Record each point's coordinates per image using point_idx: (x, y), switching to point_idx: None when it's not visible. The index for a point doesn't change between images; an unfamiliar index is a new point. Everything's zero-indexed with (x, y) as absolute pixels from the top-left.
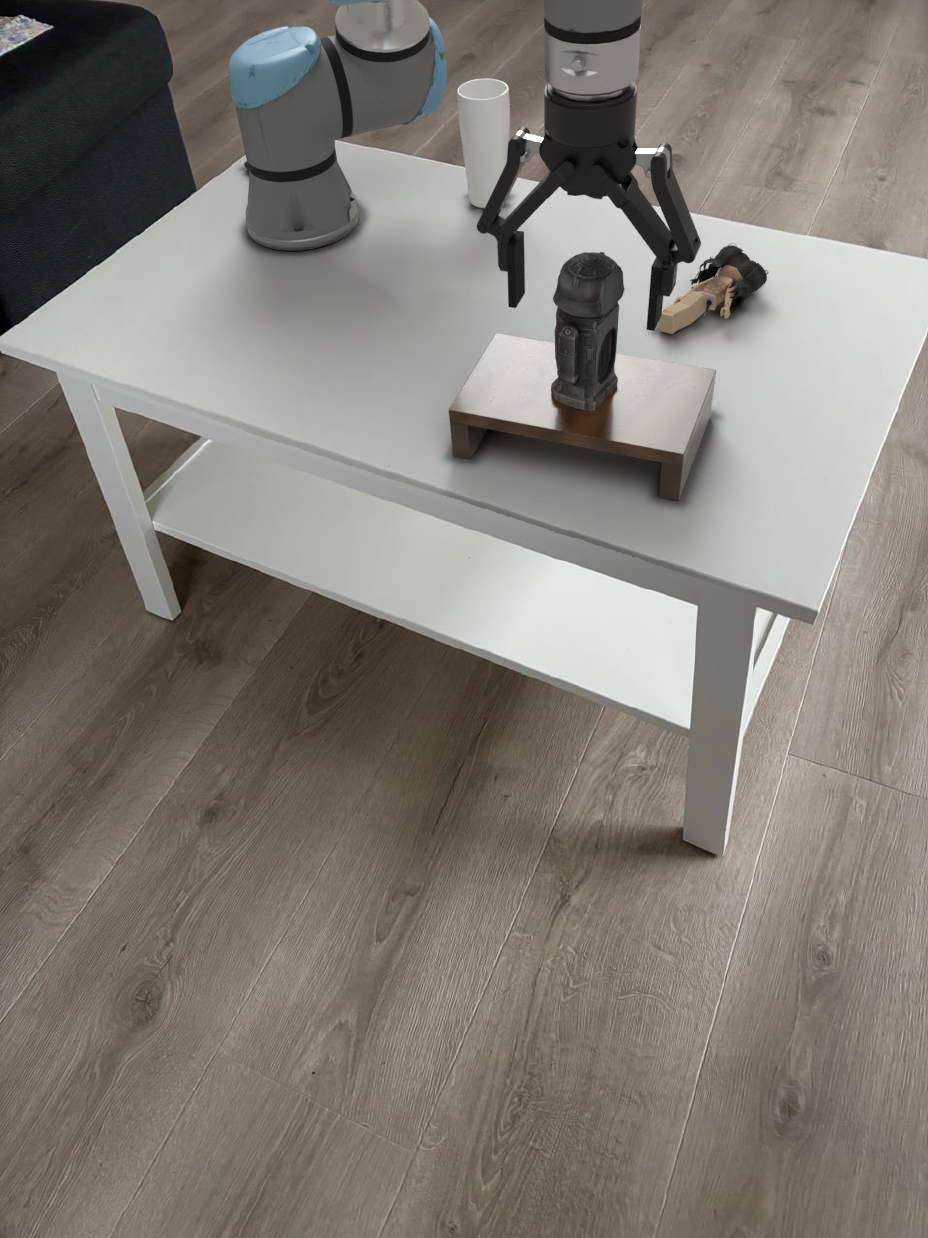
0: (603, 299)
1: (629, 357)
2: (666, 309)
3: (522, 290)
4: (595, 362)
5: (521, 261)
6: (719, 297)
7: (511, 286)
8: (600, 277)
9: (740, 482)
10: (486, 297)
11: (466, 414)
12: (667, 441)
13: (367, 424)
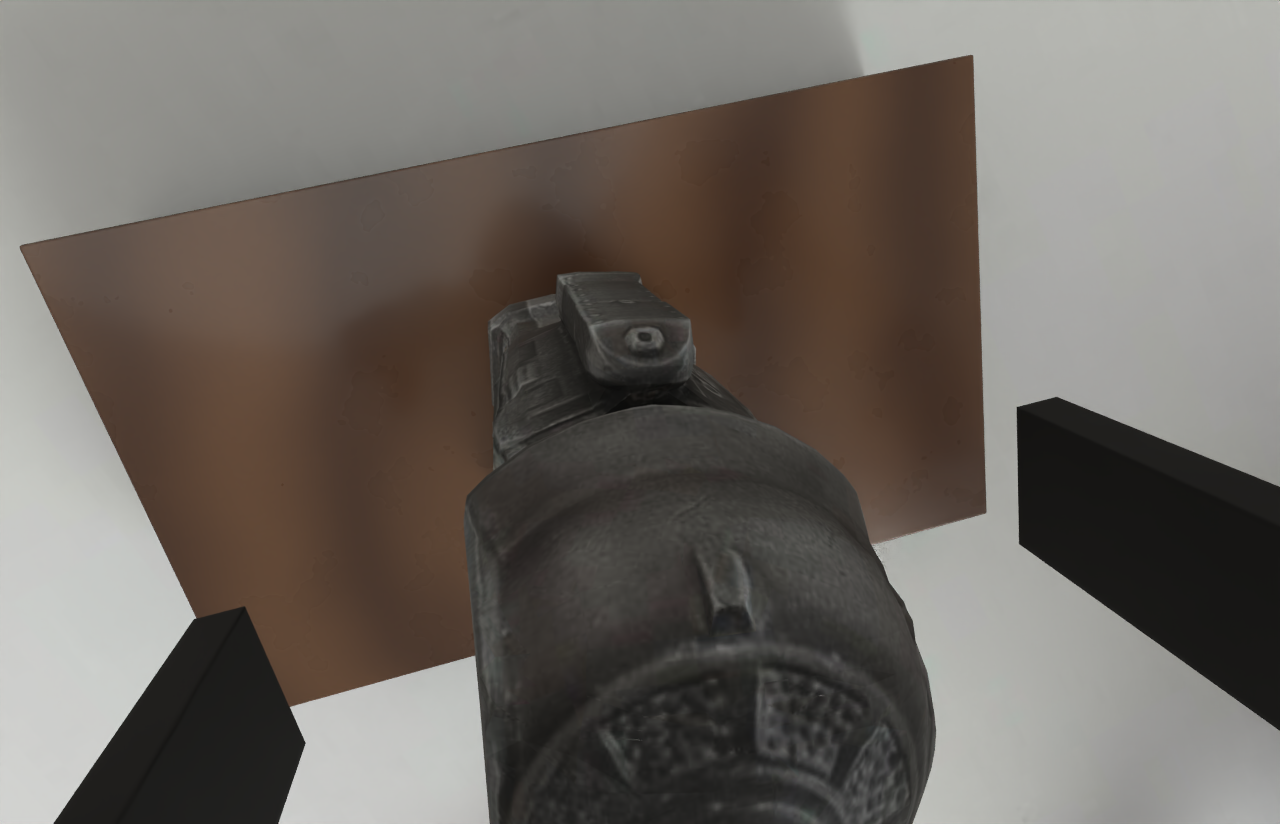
0: (472, 584)
1: None
2: None
3: (1046, 525)
4: (500, 382)
5: (1215, 629)
6: None
7: (1146, 448)
8: (541, 728)
9: (30, 405)
10: (1049, 695)
11: (903, 68)
12: (130, 286)
13: (1145, 91)
